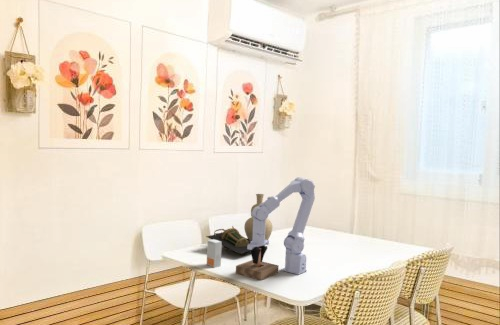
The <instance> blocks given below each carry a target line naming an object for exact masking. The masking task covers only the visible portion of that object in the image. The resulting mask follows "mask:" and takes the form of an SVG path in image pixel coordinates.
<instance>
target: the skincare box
mask: <svg viewBox="0 0 500 325" xmlns="http://www.w3.org/2000/svg"><path fill="white" fill-rule="evenodd" d="M206 247H207V249H206V250H207V251H206V265H207V266H210V267H211V268H219V267H221V265H222V248H223V246H222V242H221V241H218V240H215V239H213V240H212V239H208V240H207V246H206Z"/></svg>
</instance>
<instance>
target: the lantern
mask: <svg viewBox="0 0 500 325" xmlns="http://www.w3.org/2000/svg"><path fill="white" fill-rule="evenodd" d="M219 231H221V232H219ZM222 231H223V232H222ZM216 232H217V233H216ZM213 233H214V234H211V235H207V236H206V238H208V239H209V240H213V239H215V240H218V241H221V242H222V249H225V250H229V251H232V252H235V253H237V254H239V255H242V254H244V253H248V252H250V251H249V249H247V245H249V244H250V242H251V240H249V239H248V238H247V237H244V236H242V235H241V233H240V232H239V230H238V229H237V228H234V225H232V226H231V228H227V229H224V228H221V229H220V228H219V229H216V230H214V232H213Z"/></svg>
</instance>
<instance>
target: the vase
mask: <svg viewBox="0 0 500 325" xmlns="http://www.w3.org/2000/svg"><path fill="white" fill-rule="evenodd" d="M255 195H256V203H255V204H253V205H252V206H251V208H250V217H249V218H248V219H247V220H245V222H244V232H245V235H246V238H247V239H249V240H251V241H252V237H253V216H252V214H251V212H252V211H253V209H254V208H255V207H258V206H260V205H259V204H262V203H263V201H264V196H265V194H263V193H256V194H255ZM272 232H273V222H272V221H271V219H269V217H268V218H267V219H266V226H265V240H269V239H270V237H271V235H272Z"/></svg>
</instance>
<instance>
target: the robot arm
mask: <svg viewBox="0 0 500 325" xmlns="http://www.w3.org/2000/svg"><path fill="white" fill-rule="evenodd" d="M315 188H316V186H315V184H314V182H313V181H312V180H311V179H310V178H303V177H296V178H295V179H293V180H291V181H290V182H289V184H288V185H286V186H285V187H284V188H283V189H282V190H281V191H280V192H279V193H278V194H276V195H275V196H274V195H272V196H268V197H266V200H265V201H264V202H263V203H262V204H259V205H260V206H258V207H255V208H254V209H253V211H252V212H251V211H250V215H251V214H252V216H253V237H252V241H251V242H250V244H249V245H247V249H249V251H248V252H250V255H251V260H253V263H255V264H258V259H259V254H260V251H261V262H263V260H264V256H265V254H266V251H267V250H268V246H269V244H270V243H269V242H270V240H269V239H268V240H265V226H266V219H267V218H268V219H269V215H270V214H271V213H272V212H274V211H275V210H276V209H278V208H279V207H280V204H281V202H283V200H285V199H286V198H288V197H289V196H291V195H292V194H294V193H299V195H300V197H301V203H300V204H299V209H298V212H297V215H296V218H295V219H294V220H295V221H294V223H293V227H292V229H291V230H290V231H289V232H288V234H287V236H286V237H285V238H284V240H283V245H284V247H285V257H284V258H285V262H284V267H283V268H281V271H283V272H286V273H291V274H294V275H301V274H303V273H305V272H307V256H306V254H305V253H302V252H303V250H304V248H305V244H304V243H305V239H306V238H305V235H304V231H305V229H306V226H307V223H308V219H309V218H310V215H311V211H312V208H313V205H314V202H315ZM266 245H268V246H266ZM257 247H259V248H261V249H258V248H257Z"/></svg>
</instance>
